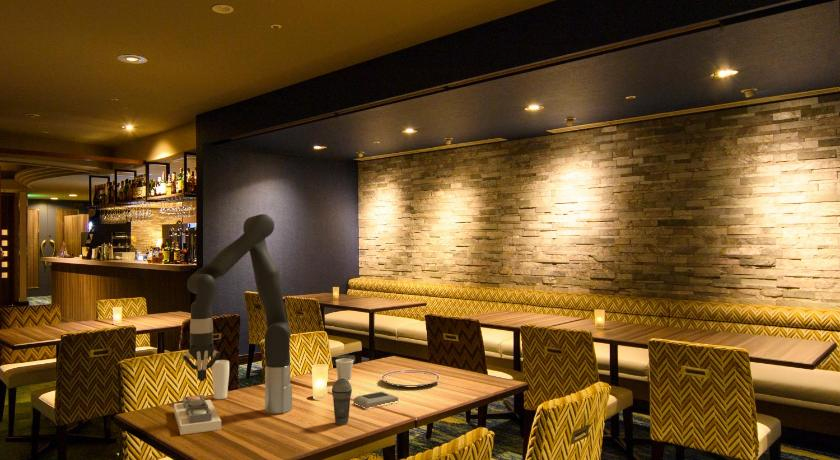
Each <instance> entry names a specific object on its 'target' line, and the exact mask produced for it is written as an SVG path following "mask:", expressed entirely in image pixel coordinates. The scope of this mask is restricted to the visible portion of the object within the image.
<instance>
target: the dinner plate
mask: <svg viewBox="0 0 840 460" xmlns="http://www.w3.org/2000/svg"><path fill="white" fill-rule="evenodd" d="M396 373H424V374H429V375H433V376H435V377H436V378H437V379H436V381H434V382H431V383H426V384H418V385H403V384H394V383H390V382H386V381H385V378H386V377H387V376H390V375H392V374H396ZM440 379H441V376H440V374H438V373H436V372H433V371H431V370H430V371H429V370H425V369H424V370H423V369H399V370H397V369H396V370H392V371H388V372H385V373H382V375H380V380H381V381H383V382H385V383H386V384H389V385H392V384H393V385H392V386H394V385H399V386H422V385H427V386H429V385H428V384H430V385H432V384H434V383H437V382H438V381H440Z"/></svg>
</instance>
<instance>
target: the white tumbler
mask: <svg viewBox="0 0 840 460" xmlns="http://www.w3.org/2000/svg"><path fill="white" fill-rule="evenodd" d="M211 375H212V376H211V377H212V387H213V399H214V400H225V399H227V397H228V391H229V390H228V388H229V379H230V378H229V377H230V361H229V360H227V359H217V360H216V362H215V363H214V364H213V366H212V367H211Z"/></svg>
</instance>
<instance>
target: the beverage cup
mask: <svg viewBox="0 0 840 460" xmlns="http://www.w3.org/2000/svg"><path fill="white" fill-rule="evenodd" d="M339 377H340V379H338V378H337V380H336V381H334V382H333V384H332V387H331V394H332V401H333V411H334V412H333V415H334V423H336V424H335V425H337V424H345V425H347V424H346V423H348V424H349V417H350V408H351V396H352V393H353V392H352V391H353V389H352V384H351V382H350V383H349V381H348V380H346V379H341V371H340V366H339Z"/></svg>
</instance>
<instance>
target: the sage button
mask: <svg viewBox="0 0 840 460" xmlns="http://www.w3.org/2000/svg"><path fill="white" fill-rule="evenodd" d="M205 413H207V410H196V411H193V415H197V414H205Z"/></svg>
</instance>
